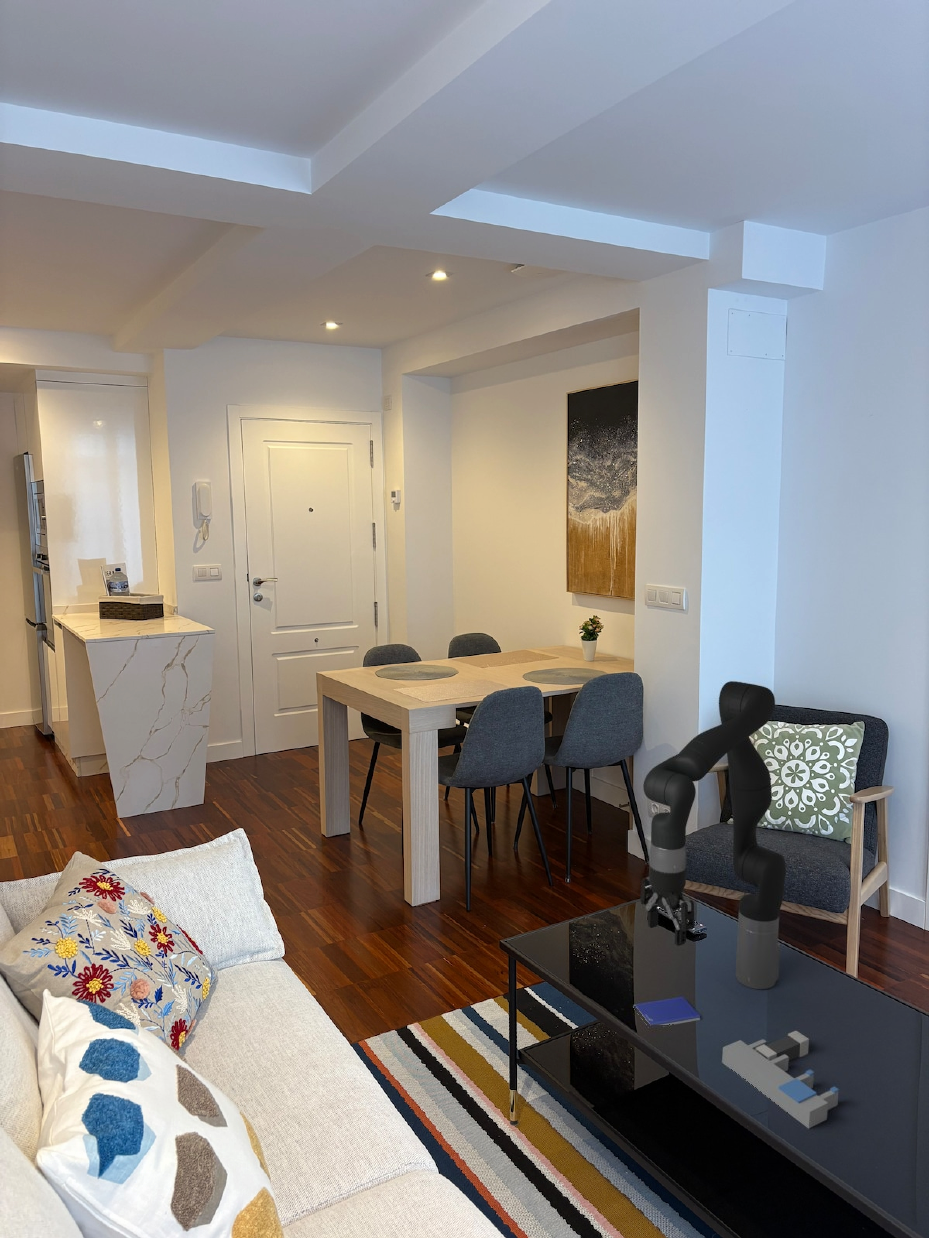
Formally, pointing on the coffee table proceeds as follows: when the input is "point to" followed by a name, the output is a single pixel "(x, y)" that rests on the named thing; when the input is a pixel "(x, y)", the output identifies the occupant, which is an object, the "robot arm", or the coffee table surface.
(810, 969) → the coffee table surface
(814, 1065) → the coffee table surface
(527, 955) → the coffee table surface
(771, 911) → the robot arm
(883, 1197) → the coffee table surface
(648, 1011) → the hard drive
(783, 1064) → the pronged holder rack
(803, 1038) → the dark grey capped bar
